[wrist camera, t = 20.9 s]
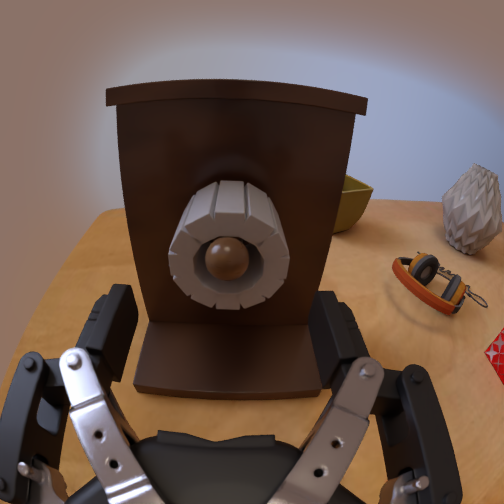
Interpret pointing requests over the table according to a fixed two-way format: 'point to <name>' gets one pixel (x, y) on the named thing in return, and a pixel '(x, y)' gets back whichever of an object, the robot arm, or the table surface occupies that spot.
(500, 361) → the red patterned cube
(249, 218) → the grey faceted tube
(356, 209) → the flower pot
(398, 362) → the table surface
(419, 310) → the table surface
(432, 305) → the headphones
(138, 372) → the rack
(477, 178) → the vase
